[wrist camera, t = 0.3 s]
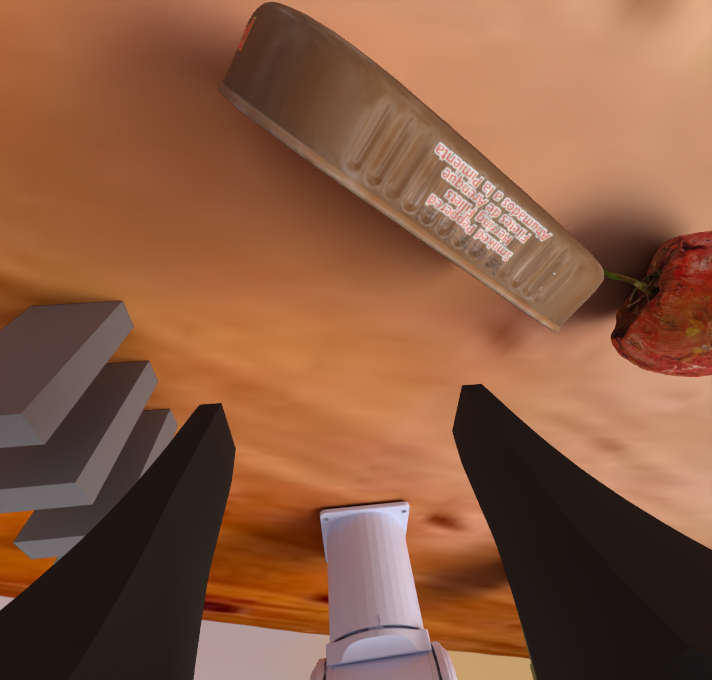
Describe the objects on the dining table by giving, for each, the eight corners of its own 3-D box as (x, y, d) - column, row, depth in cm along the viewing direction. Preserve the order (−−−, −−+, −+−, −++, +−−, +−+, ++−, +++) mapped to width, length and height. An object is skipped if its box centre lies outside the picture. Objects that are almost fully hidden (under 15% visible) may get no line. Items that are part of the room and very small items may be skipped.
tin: (238, 96, 14) (169, 102, 7) (274, 9, 13) (231, -81, 6) (491, 278, 20) (584, 375, 13) (535, 231, 19) (662, 312, 12)
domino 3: (177, 425, 24) (127, 548, 18) (108, 431, 24) (31, 559, 17) (170, 408, 23) (115, 532, 17) (98, 414, 23) (12, 542, 16)
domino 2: (158, 381, 22) (92, 504, 15) (81, 386, 22) (-19, 515, 15) (149, 360, 21) (75, 482, 14) (68, 366, 21) (-44, 493, 14)
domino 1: (133, 326, 20) (44, 444, 13) (47, 331, 19) (-88, 455, 13) (122, 300, 19) (20, 413, 12) (31, 306, 18) (-124, 424, 12)
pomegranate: (543, 308, 24) (700, 390, 22) (545, 326, 18) (769, 447, 15) (618, 201, 21) (811, 281, 19) (653, 178, 15) (956, 294, 12)
